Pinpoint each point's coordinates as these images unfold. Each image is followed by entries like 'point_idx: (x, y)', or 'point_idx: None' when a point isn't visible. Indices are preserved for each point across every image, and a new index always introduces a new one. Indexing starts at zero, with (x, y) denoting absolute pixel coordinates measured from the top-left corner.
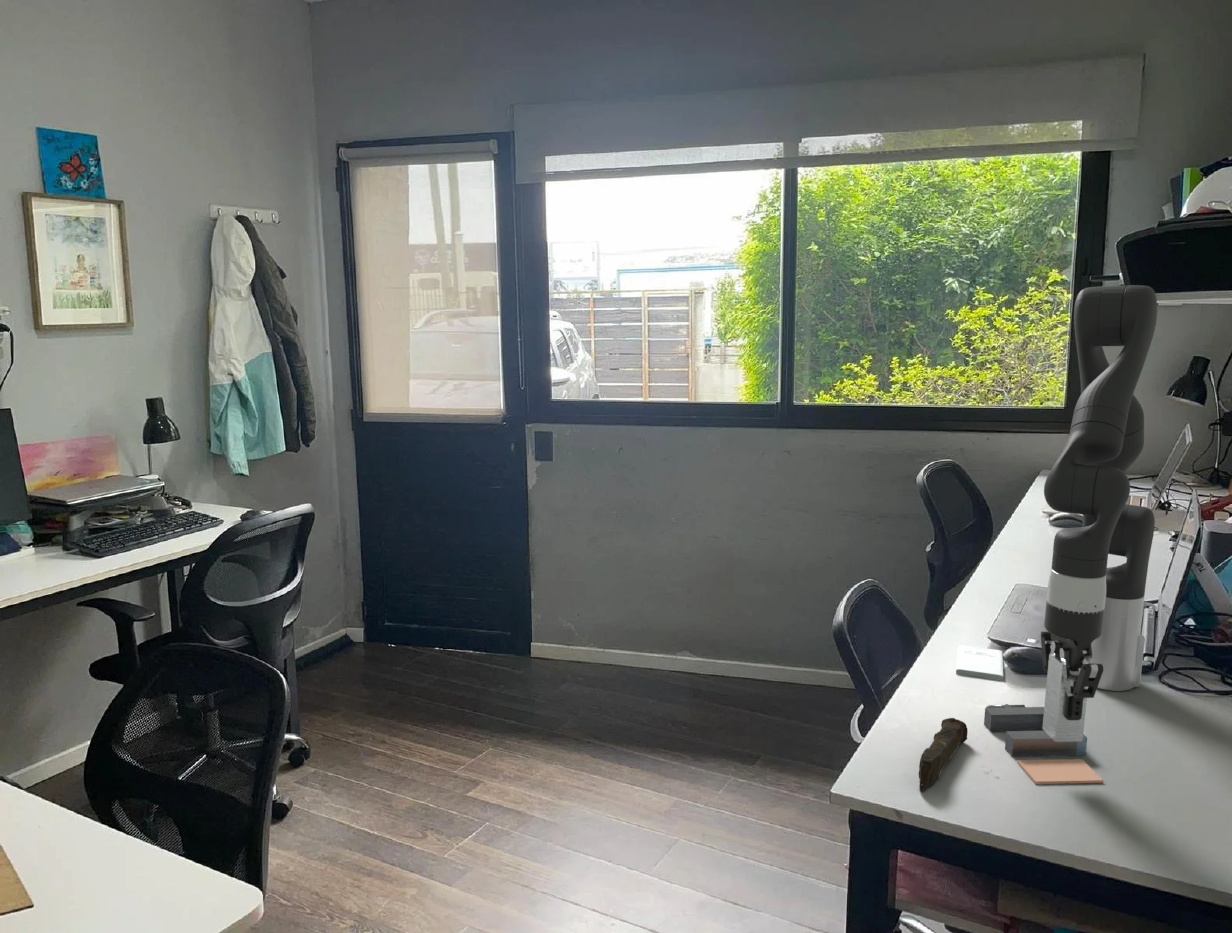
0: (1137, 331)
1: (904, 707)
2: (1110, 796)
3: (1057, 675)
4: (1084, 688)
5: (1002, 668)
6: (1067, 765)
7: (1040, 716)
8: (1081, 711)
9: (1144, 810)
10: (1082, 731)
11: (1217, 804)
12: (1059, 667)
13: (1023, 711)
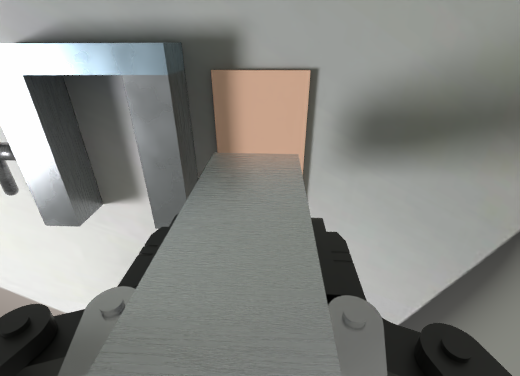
0: None
1: (44, 295)
2: (366, 84)
3: None
4: (390, 370)
5: None
6: (241, 121)
7: (41, 109)
8: (349, 254)
9: (439, 32)
10: (299, 169)
11: None
12: None
13: (35, 149)
